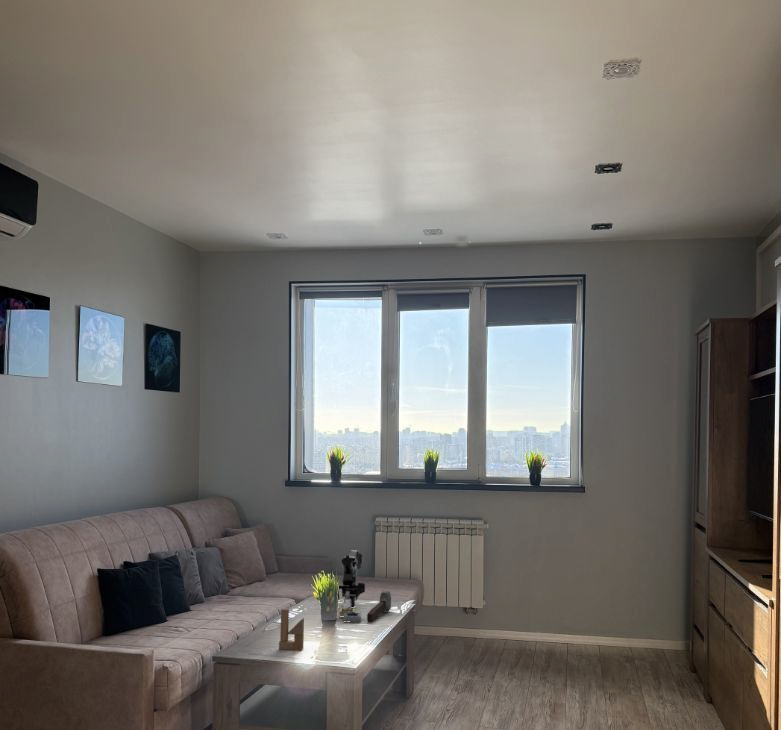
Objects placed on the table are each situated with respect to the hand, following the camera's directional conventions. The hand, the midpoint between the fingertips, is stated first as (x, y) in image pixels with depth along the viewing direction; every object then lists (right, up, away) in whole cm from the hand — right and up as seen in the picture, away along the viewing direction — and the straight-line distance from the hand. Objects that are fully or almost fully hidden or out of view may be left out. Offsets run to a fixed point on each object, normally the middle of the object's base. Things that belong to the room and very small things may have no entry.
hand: (347, 600), depth 431 cm
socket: (+3, -7, -9) cm, 12 cm away
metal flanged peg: (0, -8, +1) cm, 8 cm away
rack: (0, -8, +1) cm, 8 cm away
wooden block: (-22, -3, -66) cm, 70 cm away
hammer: (+17, -9, +1) cm, 19 cm away
